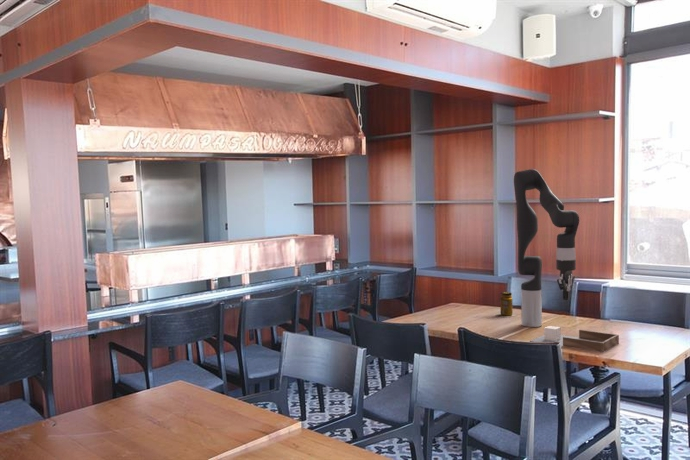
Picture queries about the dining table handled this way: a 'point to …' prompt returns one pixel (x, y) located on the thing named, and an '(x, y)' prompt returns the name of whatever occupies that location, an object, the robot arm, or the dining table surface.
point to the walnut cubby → (607, 339)
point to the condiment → (506, 304)
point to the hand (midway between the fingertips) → (566, 299)
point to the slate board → (541, 339)
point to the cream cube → (552, 333)
